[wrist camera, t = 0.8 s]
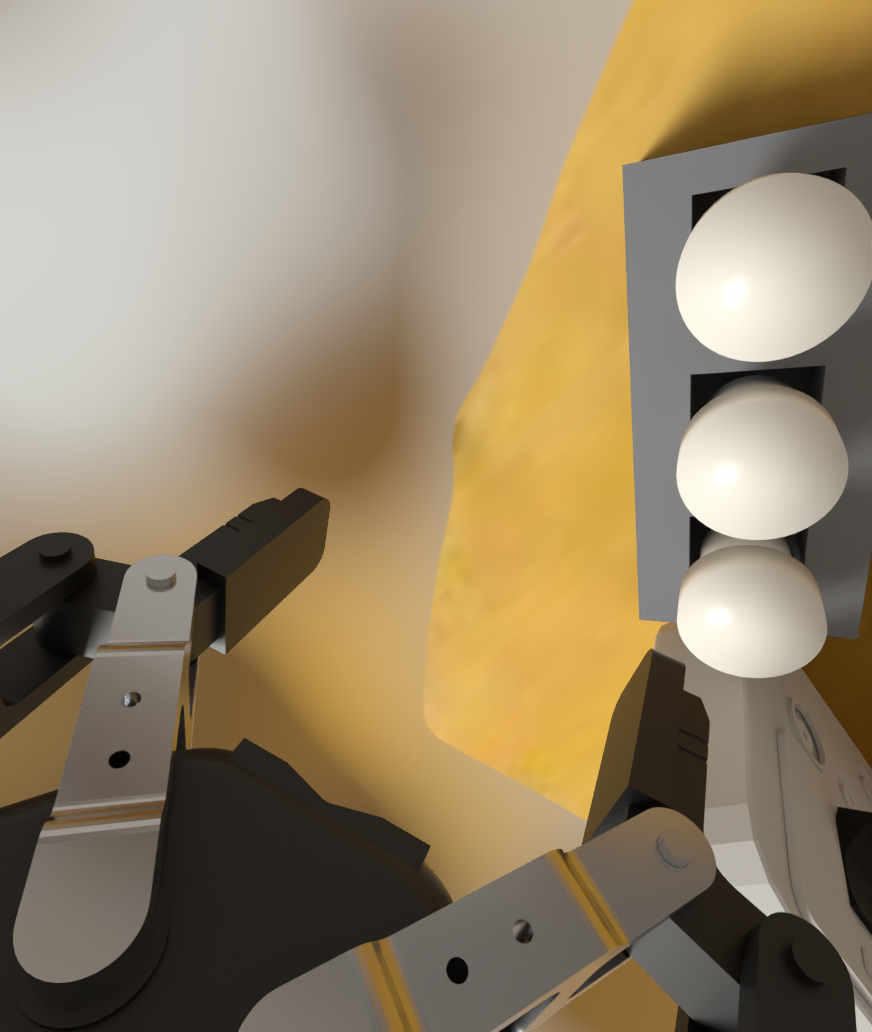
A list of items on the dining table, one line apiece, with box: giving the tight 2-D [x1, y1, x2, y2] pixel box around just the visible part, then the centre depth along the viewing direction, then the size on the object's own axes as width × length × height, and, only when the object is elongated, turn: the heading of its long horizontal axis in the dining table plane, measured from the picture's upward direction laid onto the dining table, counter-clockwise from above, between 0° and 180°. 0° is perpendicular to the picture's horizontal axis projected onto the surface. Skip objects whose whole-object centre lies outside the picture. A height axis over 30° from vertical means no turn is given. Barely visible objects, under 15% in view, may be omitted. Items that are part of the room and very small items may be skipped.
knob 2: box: [676, 375, 849, 540], centre depth 25 cm, size 6×6×6 cm
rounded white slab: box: [654, 622, 872, 1032], centre depth 31 cm, size 29×8×18 cm, turn 41°
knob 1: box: [676, 173, 872, 362], centre depth 22 cm, size 6×6×6 cm
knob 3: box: [677, 529, 827, 678], centre depth 28 cm, size 6×6×6 cm
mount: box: [622, 113, 872, 639], centre depth 28 cm, size 10×22×5 cm, turn 11°
